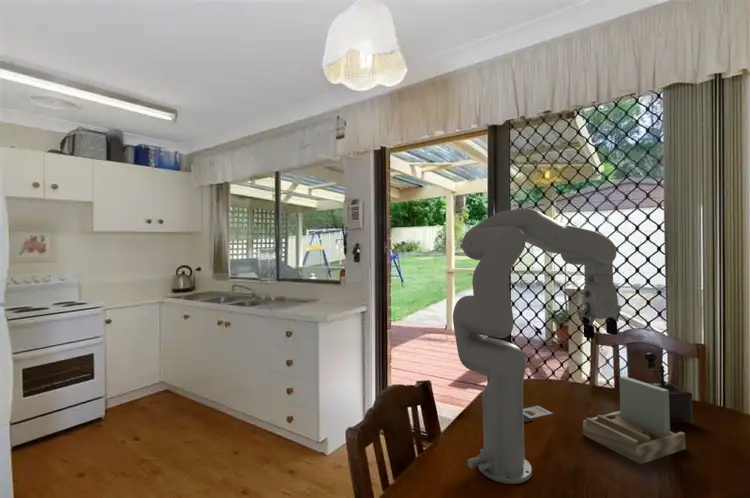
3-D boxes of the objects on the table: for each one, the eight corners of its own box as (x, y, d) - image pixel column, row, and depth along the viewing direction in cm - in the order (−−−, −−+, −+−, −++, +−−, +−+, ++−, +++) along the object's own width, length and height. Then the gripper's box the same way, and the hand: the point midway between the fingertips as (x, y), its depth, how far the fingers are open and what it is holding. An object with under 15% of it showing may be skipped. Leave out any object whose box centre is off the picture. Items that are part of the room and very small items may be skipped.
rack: (640, 468, 92) (639, 443, 92) (583, 438, 107) (582, 416, 107) (685, 452, 98) (684, 429, 98) (625, 426, 113) (624, 406, 113)
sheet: (665, 448, 98) (663, 391, 98) (620, 428, 109) (619, 377, 109) (670, 447, 99) (668, 390, 99) (625, 427, 110) (624, 376, 110)
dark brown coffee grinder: (697, 424, 113) (695, 364, 113) (663, 428, 111) (661, 367, 111) (652, 403, 128) (650, 350, 128) (622, 406, 127) (621, 352, 126)
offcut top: (641, 439, 98) (641, 432, 98) (610, 427, 106) (610, 419, 106) (649, 436, 100) (648, 429, 100) (618, 424, 107) (618, 417, 107)
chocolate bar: (491, 413, 123) (535, 404, 129) (491, 416, 123) (535, 407, 129) (509, 425, 115) (556, 414, 121) (509, 428, 115) (556, 417, 121)
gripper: (589, 282, 109) (591, 342, 109) (630, 278, 115) (632, 335, 115) (567, 281, 116) (569, 336, 116) (607, 277, 122) (609, 330, 122)
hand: (600, 335), depth 115 cm, fingers open, 9 cm apart
